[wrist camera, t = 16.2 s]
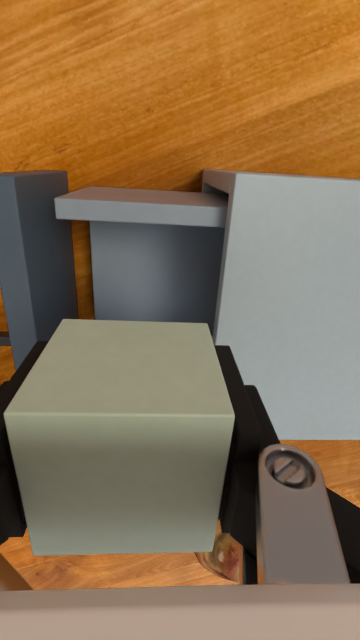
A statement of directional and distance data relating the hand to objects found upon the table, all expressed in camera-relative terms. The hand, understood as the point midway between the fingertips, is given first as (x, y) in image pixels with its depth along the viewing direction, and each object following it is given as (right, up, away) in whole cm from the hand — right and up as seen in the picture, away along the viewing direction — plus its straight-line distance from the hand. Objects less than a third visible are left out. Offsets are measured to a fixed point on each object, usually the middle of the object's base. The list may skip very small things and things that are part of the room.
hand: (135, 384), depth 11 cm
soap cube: (0, 0, 0) cm, 0 cm away
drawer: (-2, +6, +11) cm, 13 cm away
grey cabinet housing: (+10, +5, +13) cm, 17 cm away
